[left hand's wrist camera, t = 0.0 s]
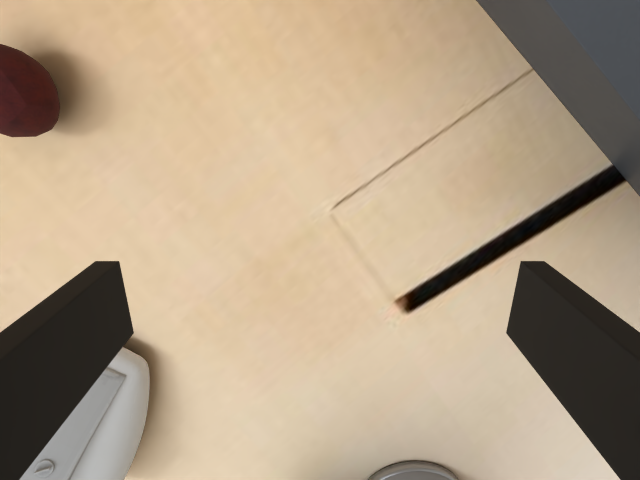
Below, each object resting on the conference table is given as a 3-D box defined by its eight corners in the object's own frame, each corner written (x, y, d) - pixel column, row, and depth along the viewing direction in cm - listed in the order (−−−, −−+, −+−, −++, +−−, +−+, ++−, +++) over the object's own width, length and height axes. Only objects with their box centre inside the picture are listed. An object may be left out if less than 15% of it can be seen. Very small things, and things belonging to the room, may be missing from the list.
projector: (205, 451, 53) (165, 575, 39) (59, 486, 55) (-26, 615, 42) (130, 319, 45) (49, 417, 32) (-35, 367, 48) (-177, 476, 34)
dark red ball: (31, 31, 35) (-36, 16, 28) (94, 107, 37) (45, 110, 30) (-22, 80, 36) (-98, 77, 30) (41, 150, 38) (-16, 161, 32)
